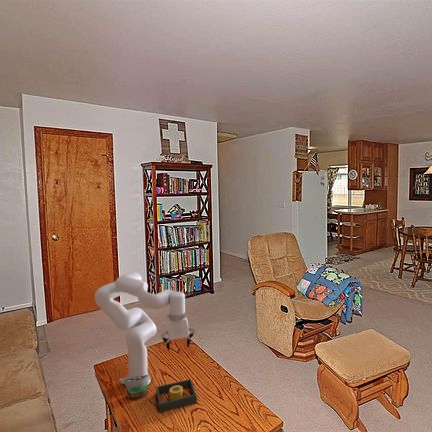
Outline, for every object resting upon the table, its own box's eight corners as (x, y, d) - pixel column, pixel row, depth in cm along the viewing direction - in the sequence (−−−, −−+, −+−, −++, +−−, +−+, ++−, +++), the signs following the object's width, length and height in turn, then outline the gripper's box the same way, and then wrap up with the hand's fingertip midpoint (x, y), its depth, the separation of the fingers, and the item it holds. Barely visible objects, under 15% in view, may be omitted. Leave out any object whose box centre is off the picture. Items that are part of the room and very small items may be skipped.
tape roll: (170, 403, 171) (170, 394, 171) (168, 396, 177) (168, 387, 176) (183, 400, 174) (183, 391, 173) (181, 393, 180) (181, 384, 179)
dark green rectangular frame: (159, 412, 165) (159, 404, 164) (156, 393, 179) (156, 386, 178) (196, 402, 172) (196, 395, 172) (191, 385, 186) (190, 379, 186)
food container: (124, 403, 170) (123, 384, 169) (123, 396, 176) (123, 378, 175) (150, 397, 176) (150, 378, 175) (149, 390, 181) (149, 372, 180)
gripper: (160, 321, 170) (161, 354, 172) (195, 316, 177) (196, 347, 178) (159, 315, 177) (160, 347, 179) (193, 311, 184) (194, 341, 185)
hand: (178, 347), depth 178 cm, fingers open, 9 cm apart
